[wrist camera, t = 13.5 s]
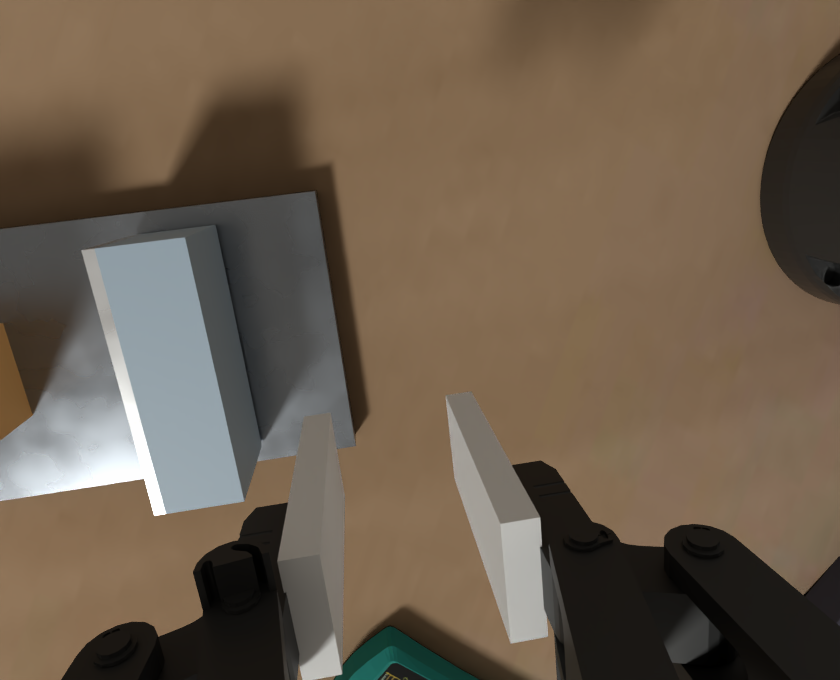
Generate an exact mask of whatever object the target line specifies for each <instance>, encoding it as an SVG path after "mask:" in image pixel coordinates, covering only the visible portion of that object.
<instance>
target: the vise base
mask: <svg viewBox="0 0 840 680" xmlns="http://www.w3.org/2000/svg"><path fill="white" fill-rule="evenodd" d="M209 225H216V229H217V234H218V239H219V243H220V248H221V253H222V258H223V262H224V267H225V272H226V277H227V282H228V286H229V291H230V296H231V301H232V306H233V310H234V315H235V320H236V325H237V329H238V334H239V339H240V344H241V349H242V353H243V358H244V363H245V368H246V372H247V377H248V382H249V387H250V392H251V396H252V401H253V406H254V411H255V416H256V420H257V425H258V430H259V435H260V439H261V444H262V447H261V450H260V453H259V457H258V460H257V461H262V460H268V459H275V458H281V457H288V456H294V455H297V452H298V446H299V441H300V435H301V430H302V425H303V419H304V417H305V416H311V415H318V414H325V413H331V418H332V424H333V430H334V436H335V441H336V447H337V449H340V448H346V447H353V446H356V441H355V429H354V423H353V417H352V410H351V404H350V398H349V392H348V385H347V379H346V373H345V366H344V360H343V354H342V347H341V341H340V335H339V328H338V322H337V316H336V310H335V303H334V297H333V291H332V284H331V278H330V272H329V265H328V259H327V253H326V247H325V240H324V234H323V228H322V221H321V215H320V209H319V202H318V196H317V190H314V191H306V192H298V193H290V194H281V195H273V196H265V197H256V198H248V199H240V200H232V201H223V202H215V203H207V204H199V205H190V206H182V207H174V208H165V209H157V210H149V211H141V212H132V213H124V214H116V215H108V216H99V217H91V218H83V219H74V220H66V221H58V222H50V223H41V224H33V225H25V226H17V227H8V228H0V323H3V325H4V328H5V331H6V334H7V337H8V340H9V343H10V346H11V350H12V353H13V356H14V359H15V362H16V365H17V368H18V371H19V374H20V377H21V380H22V384H23V387H24V390H25V393H26V396H27V399H28V402H29V405H30V408H31V411H32V415H33V416H31V417H30V418H29V419H27V420H26V421H25V422H24V423H22V424H21V425H20V426H18V427H17V428H16V429H14V430H13V431H12V432H11V433H9V434H8V435H7V436H5V437H4V438H3V439H2V440H0V501H3V500H9V499H16V498H22V497H29V496H35V495H42V494H48V493H55V492H61V491H68V490H74V489H81V488H87V487H94V486H100V485H107V484H113V483H119V482H126V481H132V480H139V479H144V476H143V472H142V469H141V465H140V461H139V458H138V454H137V451H136V447H135V443H134V440H133V436H132V432H131V429H130V425H129V422H128V418H127V414H126V411H125V407H124V403H123V400H122V396H121V393H120V389H119V385H118V382H117V378H116V374H115V371H114V367H113V364H112V360H111V356H110V353H109V349H108V345H107V342H106V338H105V335H104V331H103V327H102V324H101V320H100V316H99V313H98V309H97V306H96V302H95V298H94V295H93V291H92V287H91V284H90V280H89V277H88V273H87V269H86V266H85V262H84V258H83V255H82V251H81V250H84V249H87V248H90V247H94V246H97V245H100V244H104V243H107V242H110V241H114V240H117V239H120V238H124V237H127V236H130V235H137V234H145V233H153V232H161V231H169V230H177V229H185V228H193V227H201V226H209Z"/></svg>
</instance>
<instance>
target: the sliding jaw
mask: <svg viewBox="0 0 840 680" xmlns="http://www.w3.org/2000/svg"><path fill="white" fill-rule="evenodd" d="M81 251H82V255H83V258H84V262H85V266H86V269H87V273H88V277H89V280H90V284H91V287H92V291H93V295H94V298H95V302H96V306H97V309H98V313H99V316H100V320H101V324H102V327H103V331H104V335H105V338H106V342H107V345H108V349H109V353H110V356H111V360H112V364H113V367H114V371H115V374H116V378H117V382H118V385H119V389H120V393H121V396H122V400H123V403H124V407H125V411H126V414H127V418H128V422H129V425H130V429H131V432H132V436H133V440H134V443H135V447H136V451H137V454H138V458H139V461H140V465H141V469H142V472H143V476H144V480H145V483H146V487H147V490H148V494H149V498H150V501H151V505H152V509H153V512H154V516H156V515H162V514H168V513H175V512H181V511H187V510H193V509H200V508H206V507H212V506H219V505H225V504H231V503H237V502H244V501H245V498H246V494H247V491H248V488H249V485H250V482H251V479H252V476H253V472H254V469H255V466H256V463H257V460H258V457H259V453H260V450H261V447H262V444H261V439H260V435H259V430H258V425H257V420H256V416H255V411H254V406H253V401H252V396H251V392H250V387H249V382H248V377H247V372H246V368H245V363H244V358H243V353H242V349H241V344H240V339H239V334H238V329H237V325H236V320H235V315H234V310H233V306H232V301H231V296H230V291H229V286H228V282H227V277H226V272H225V267H224V262H223V258H222V253H221V248H220V243H219V239H218V234H217V229H216V225H209V226H201V227H193V228H185V229H177V230H169V231H161V232H153V233H145V234H137V235H130V236H127V237H124V238H120V239H117V240H114V241H110V242H107V243H104V244H100V245H97V246H94V247H90V248H87V249H84V250H81Z"/></svg>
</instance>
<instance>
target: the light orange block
mask: <svg viewBox="0 0 840 680" xmlns="http://www.w3.org/2000/svg"><path fill="white" fill-rule="evenodd" d="M31 416H33V415H32V411H31V408H30V405H29V402H28V399H27V396H26V393H25V390H24V387H23V384H22V380H21V377H20V374H19V371H18V368H17V365H16V362H15V359H14V356H13V353H12V350H11V346H10V343H9V340H8V337H7V334H6V331H5V328H4V325H3V323H0V440H2V439H3V438H4V437H5V436H7V435H8V434H9V433H11V432H12V431H13V430H14V429H16V428H17V427H18V426H20V425H21V424H22V423H24V422H25V421H26V420H27V419H29V418H30V417H31Z"/></svg>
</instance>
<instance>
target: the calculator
mask: <svg viewBox="0 0 840 680" xmlns="http://www.w3.org/2000/svg"><path fill="white" fill-rule="evenodd" d="M805 597H806V598H807V599H808V600H809V601H811V602H812V603H813V604H814V605H815V606H816V607H818V608H819V609H820V610H821V611H822V612H824V613H825V614H826V615H827V616H828V617H829V618H831V619H832V620H833V621H834V622H835V623H837V624H838V625H839V626H840V556H839V557H838V558H837V560H836V561H835V562H834V563H833V564H832V565H831V566H830V567H829V568H828V570H827V571H826V572H825V573H824V574H823V575H822V577H821V578H820V579H819V580H818V581H817V583H816V584H815V585H814V586H813V587H812V589H811V590H810V591H809V592H808V593H807V594H806V596H805Z"/></svg>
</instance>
